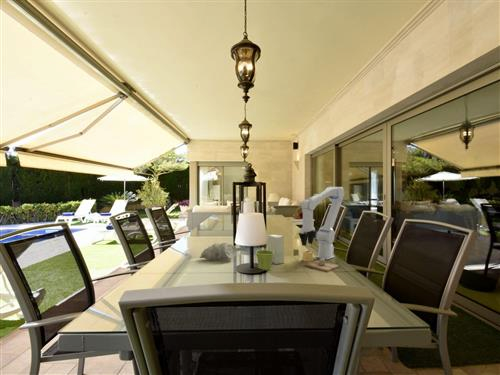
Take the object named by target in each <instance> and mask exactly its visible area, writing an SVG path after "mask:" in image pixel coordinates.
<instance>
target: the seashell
mask: <svg viewBox="0 0 500 375" xmlns="http://www.w3.org/2000/svg"><path fill="white" fill-rule="evenodd" d="M236 253H237V252H236V249H235V247H234V245H233V244H232V243H229V242H222V243H213V244H212V245H211V246H208V247H207V248H204V249H203V251H202V252H201V254H200V256H199V258H200V259H204V260H206V261H208V262H209V261H215V260H217V261H223V260H224V261H225V260H227V261H228V260H230V261H231V260H232V259H234V258H235V257H236V256H237V254H236Z"/></svg>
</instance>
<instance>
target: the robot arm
mask: <svg viewBox="0 0 500 375" xmlns="http://www.w3.org/2000/svg"><path fill="white" fill-rule="evenodd" d="M345 194H346V192H345V189H344V187H343V186H327V187H325V190H323V191H321V193H314V194H313V196H310V197H308V198H307V199H303V200H302V201H301V204H300V208H301V213H302V227H300V229H299V232H298V236H299V238H300V241H301V245H302V246H303V247H307V244H309V245H310V244H311V245H312V244H313V242H314V239H316V240H317V242H318V255H316V256H315V258H318V259H320V258H322V259H325V260H330V259H334V258H335V257H336V256H335V255H334V252H335V251H334V249H335V248H334V245H333V242H334V241H335V235H336V232H335V231H334V229H333V228H334V226H335V223H336V220H337V217H338V214H339V211H340V208H341V205H342V203H343V200H344V198H345ZM326 198H328V200H329V202H331V204H330V208H329V211H328V213H327V215H326V218H325V222H324V225H323V226H321V227H319V229H318V231H315V230H316V227H313V226H314V225H313V224H314V210H315V209H316V207H317V206H318V205H319V204H321V203H323V200H324V199H326Z"/></svg>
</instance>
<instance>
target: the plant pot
mask: <svg viewBox="0 0 500 375" xmlns="http://www.w3.org/2000/svg"><path fill="white" fill-rule="evenodd" d="M254 253H255V255H256V258H257V269H258V268H260V269H265V271H270V270H271V267H272V257H273V254H274V252H273V251H269V250H268V249H266V250H265V249H261V250H256V251H255V252H254Z"/></svg>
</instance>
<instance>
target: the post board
mask: <svg viewBox="0 0 500 375" xmlns="http://www.w3.org/2000/svg"><path fill="white" fill-rule="evenodd" d="M340 266H341V265H339V264H335V263H331V262H326V259H322V258H318V259H316V260H313V261H311V262H305V263H303V267H307V268H310V269H315V270H318V271H322V272H326V273H329V272H331V271H333V270H336V269H339V268H340Z"/></svg>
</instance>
